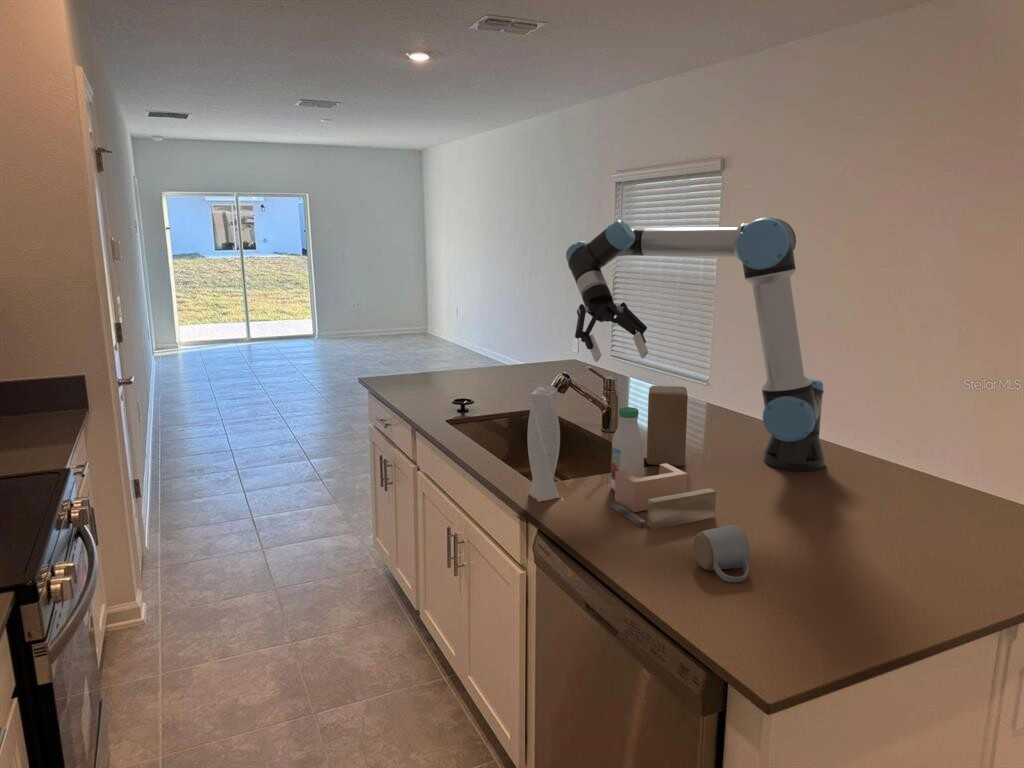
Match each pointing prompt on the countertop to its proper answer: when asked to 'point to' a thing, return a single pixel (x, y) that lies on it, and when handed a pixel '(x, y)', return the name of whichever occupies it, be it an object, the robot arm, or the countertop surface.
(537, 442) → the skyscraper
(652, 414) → the block
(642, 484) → the cradle
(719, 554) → the ceramic mug
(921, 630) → the countertop surface
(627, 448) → the milk bottle
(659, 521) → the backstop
